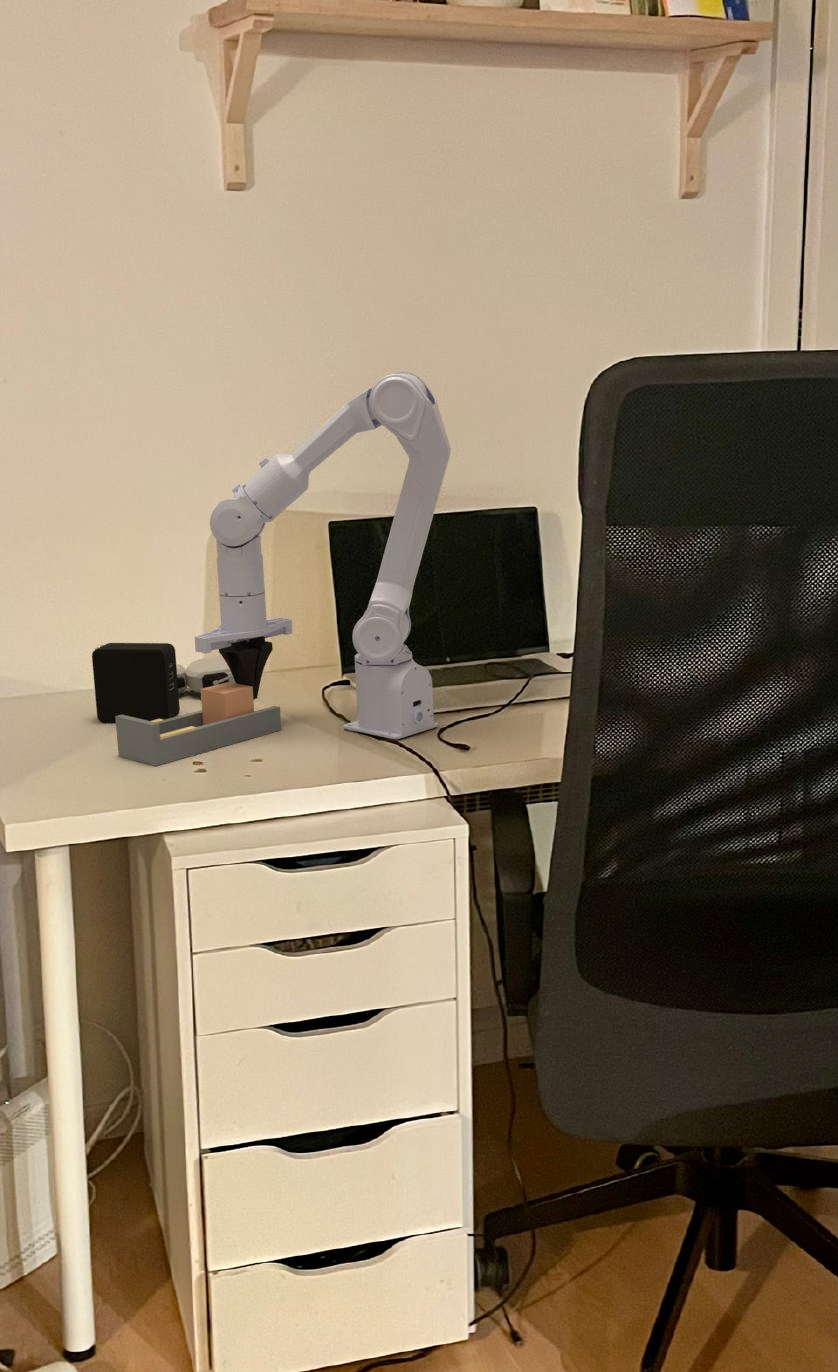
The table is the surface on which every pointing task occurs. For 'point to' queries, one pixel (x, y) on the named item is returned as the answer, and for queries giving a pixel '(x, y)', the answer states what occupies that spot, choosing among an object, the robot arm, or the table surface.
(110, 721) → the electronic device
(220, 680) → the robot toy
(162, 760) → the trough
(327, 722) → the table surface
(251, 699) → the block
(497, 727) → the table surface
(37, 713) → the table surface
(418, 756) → the table surface
